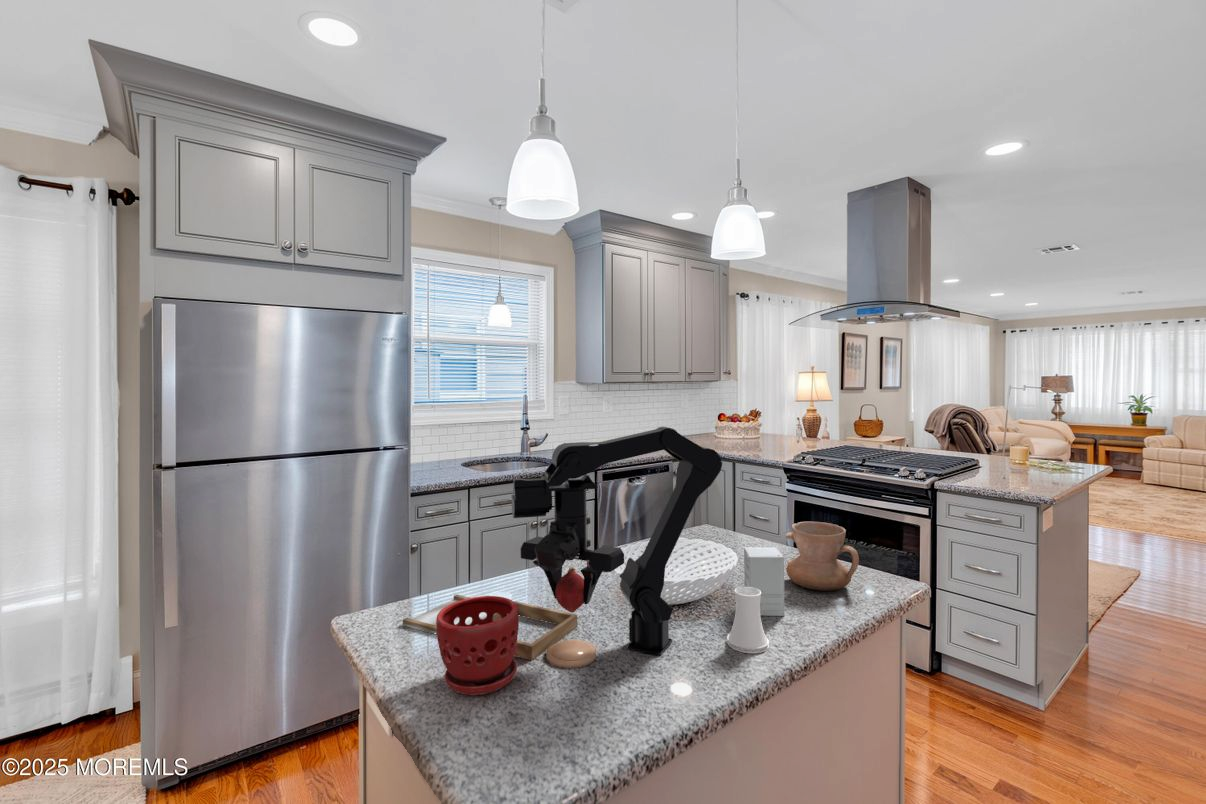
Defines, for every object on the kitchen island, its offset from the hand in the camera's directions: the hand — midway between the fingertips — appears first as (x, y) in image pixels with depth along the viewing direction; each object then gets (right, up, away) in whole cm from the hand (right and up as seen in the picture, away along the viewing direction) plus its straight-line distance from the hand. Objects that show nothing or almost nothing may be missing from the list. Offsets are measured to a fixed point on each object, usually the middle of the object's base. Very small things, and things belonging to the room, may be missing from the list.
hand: (571, 600), depth 100 cm
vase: (+33, -10, +4) cm, 34 cm away
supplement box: (+40, -9, +21) cm, 46 cm away
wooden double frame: (-17, -10, +13) cm, 24 cm away
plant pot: (-15, -10, -8) cm, 20 cm away
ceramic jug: (+58, -9, +35) cm, 68 cm away
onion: (0, -2, 0) cm, 2 cm away
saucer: (0, -10, 0) cm, 10 cm away
